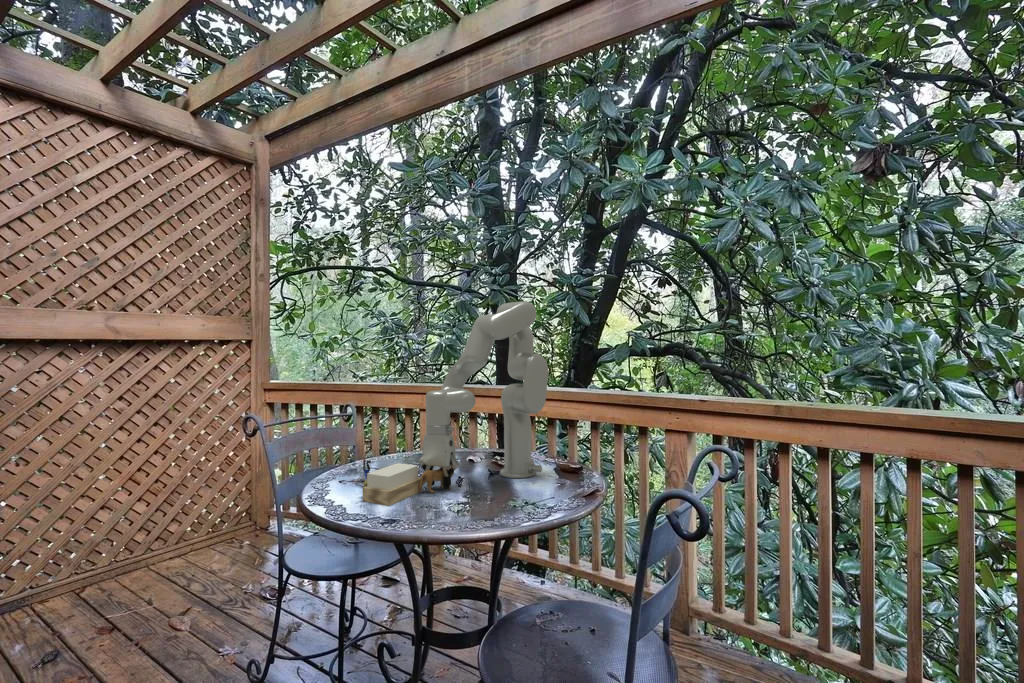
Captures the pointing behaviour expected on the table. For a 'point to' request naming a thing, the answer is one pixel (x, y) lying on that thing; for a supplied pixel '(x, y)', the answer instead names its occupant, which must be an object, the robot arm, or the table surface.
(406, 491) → the oak base brick
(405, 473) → the cream brick
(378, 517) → the table surface
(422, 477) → the lion figurine
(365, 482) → the figurine
